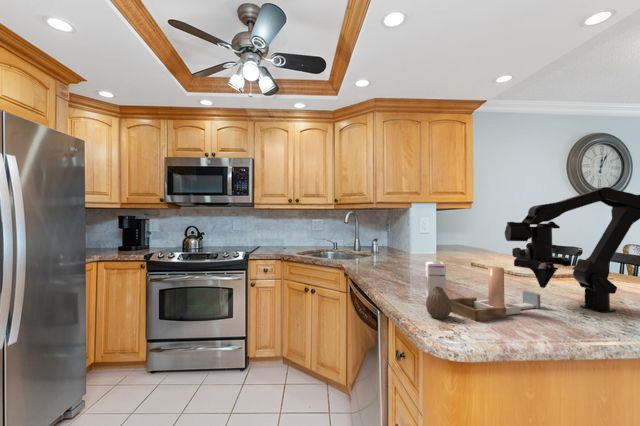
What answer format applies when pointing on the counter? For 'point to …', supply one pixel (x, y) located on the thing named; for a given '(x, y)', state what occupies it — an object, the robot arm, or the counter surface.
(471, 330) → the counter surface
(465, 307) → the dock
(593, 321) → the counter surface
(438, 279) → the syrup box
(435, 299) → the vase
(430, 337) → the counter surface
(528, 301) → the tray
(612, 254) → the robot arm
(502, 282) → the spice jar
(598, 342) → the counter surface
